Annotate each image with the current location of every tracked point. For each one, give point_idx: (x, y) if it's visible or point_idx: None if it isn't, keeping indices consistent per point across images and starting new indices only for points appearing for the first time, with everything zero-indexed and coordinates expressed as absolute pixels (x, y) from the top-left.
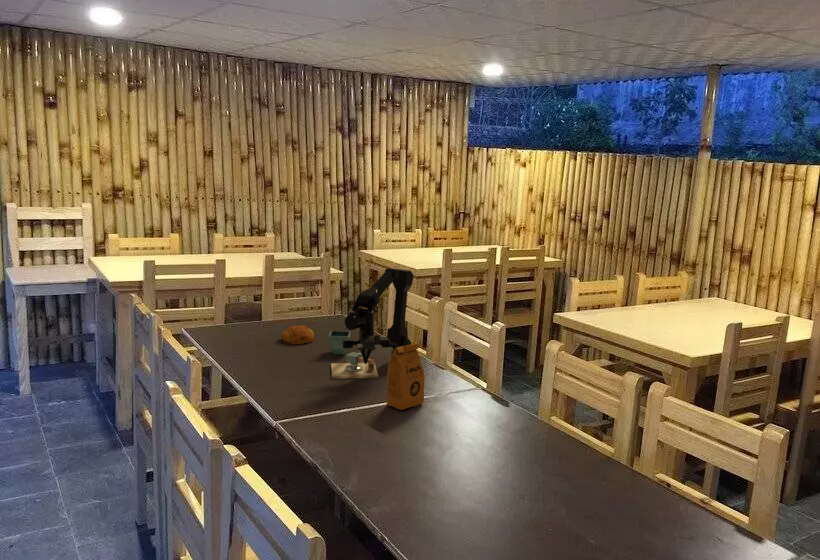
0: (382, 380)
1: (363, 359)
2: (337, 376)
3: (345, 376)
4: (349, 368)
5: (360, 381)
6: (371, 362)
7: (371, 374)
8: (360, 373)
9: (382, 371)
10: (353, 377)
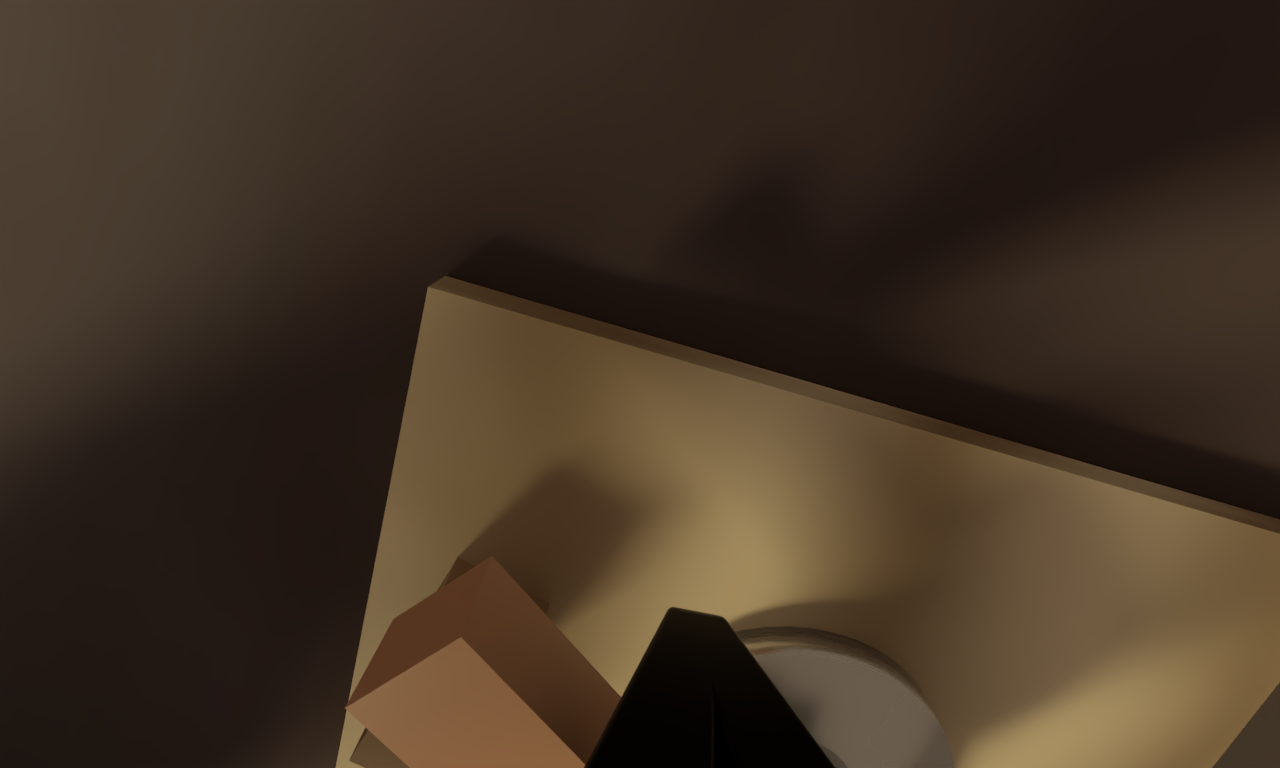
0: (395, 56)
1: (803, 745)
2: (1266, 526)
3: (1117, 480)
4: (896, 765)
5: (906, 174)
6: (487, 602)
7: (559, 388)
8: (762, 520)
9: (261, 583)
10: (947, 427)
